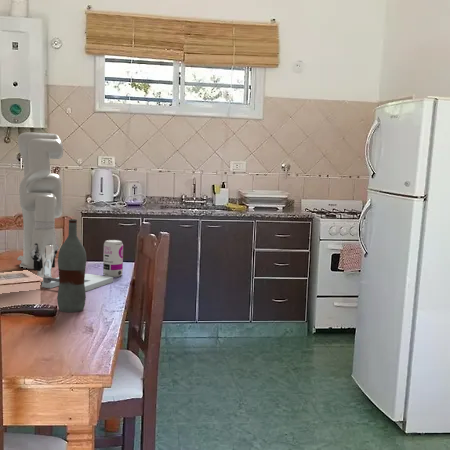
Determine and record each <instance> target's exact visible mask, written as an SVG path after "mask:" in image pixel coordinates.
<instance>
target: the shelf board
mask: <svg viewBox="0 0 450 450" xmlns="http://www.w3.org/2000/svg"><path fill="white" fill-rule="evenodd" d="M111 283H114V277H108V276H105V275H99V274H92V273H86V272H85V278H84V285H85V293H86V292H88V291H91V290H94V289H97V288H99V287H103V286H105V285H109V284H111ZM56 287H59V276H58V277H52V278H51V277H47V276H46V277H43V282H41V288H45V289H46V288H47V289H52V288H53V289H54V288H56Z"/></svg>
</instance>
